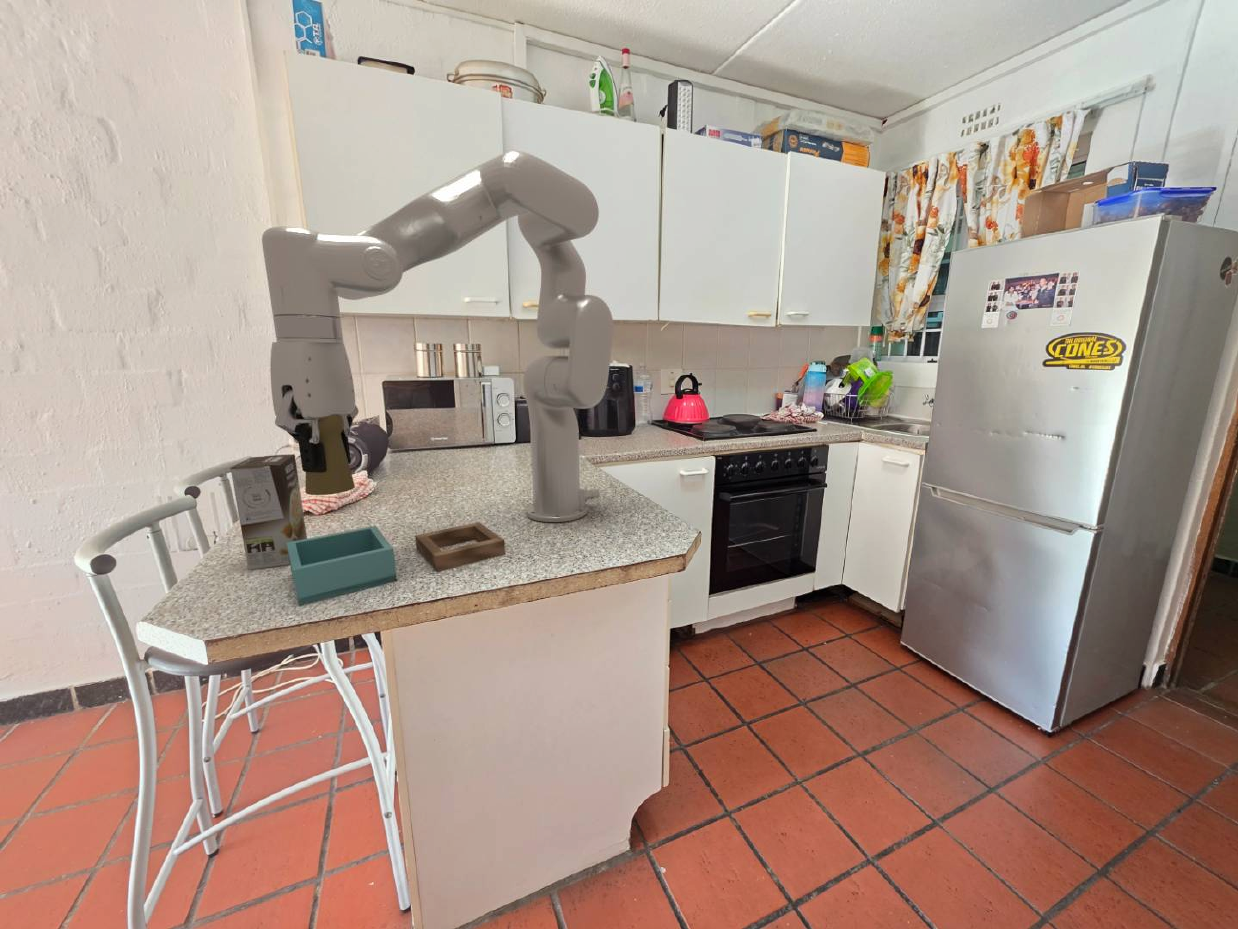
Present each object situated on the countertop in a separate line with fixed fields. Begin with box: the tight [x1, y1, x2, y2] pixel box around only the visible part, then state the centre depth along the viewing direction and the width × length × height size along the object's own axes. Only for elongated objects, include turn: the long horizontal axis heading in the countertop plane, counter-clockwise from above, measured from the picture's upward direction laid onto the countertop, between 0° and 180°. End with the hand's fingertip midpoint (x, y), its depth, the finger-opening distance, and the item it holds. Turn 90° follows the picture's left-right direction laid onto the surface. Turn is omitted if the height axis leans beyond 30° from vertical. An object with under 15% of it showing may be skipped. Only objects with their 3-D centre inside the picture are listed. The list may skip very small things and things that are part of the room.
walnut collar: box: [414, 521, 506, 573], centre depth 80 cm, size 11×11×2 cm
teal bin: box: [287, 525, 398, 607], centre depth 71 cm, size 12×12×5 cm
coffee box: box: [229, 453, 308, 571], centre depth 77 cm, size 9×6×16 cm
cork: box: [303, 414, 356, 496], centre depth 67 cm, size 6×6×11 cm
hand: (327, 466), depth 68 cm, fingers closed on cork, 4 cm apart
